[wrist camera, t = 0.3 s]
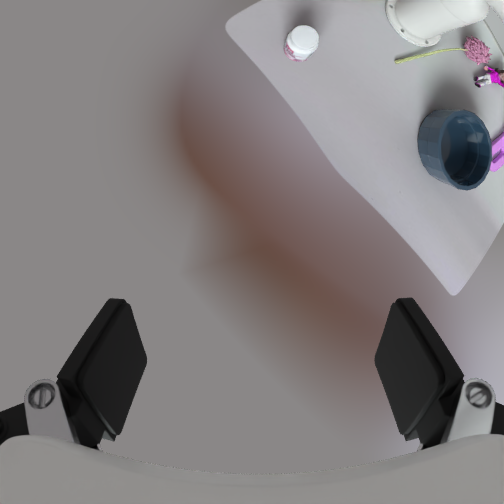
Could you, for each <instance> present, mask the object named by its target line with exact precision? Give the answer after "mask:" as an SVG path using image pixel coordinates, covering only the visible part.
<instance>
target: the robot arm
mask: <svg viewBox="0 0 504 504" xmlns="http://www.w3.org/2000/svg"><path fill="white" fill-rule="evenodd" d="M490 6H491V8H492V9H493V10H494V12H496V14H497V15H498V16H499V18H500V19H501V21H502V22H503V24H504V0H387V2H386V14H387V17H388V20H389V21H390V23H391V25H392V26H393V28H394V29H395V30H396V31H397V32H398V33H399V34H400V35H401V36H402V37H403V38H404V39H406V40H407V41H409V42H410V43H412V44H415V45H418V46H422V47H429V46H432V45H435V44H437V43H438V42H439V40H440V38H441V35H442V34H443V33H445V32H448V31H451V30H454V29H457V28H461V27H464V26H467V25H470V24H474V23H477V22H480V21H482V20H483V19H485V17H486V16H487V14H488V12H489V9H490ZM146 364H147V356H146V353H145V351H144V347H143V344H142V341H141V338H140V335H139V332H138V329H137V326H136V322H135V319H134V316H133V313H132V309H131V306H130V304H128V303H127V302H126V301H125V300H124V299H113V298H110V299H109V300H108V301H107V302H106V303H105V305H104V306H103V308H102V309H101V310H100V312H99V313H98V315H97V316H96V317H95V319H94V320H93V322H92V323H91V325H90V326H89V328H88V329H87V330H86V332H85V333H84V335H83V336H82V338H81V339H80V341H79V342H78V344H77V345H76V347H75V348H74V350H73V351H72V353H71V355H70V356H69V358H68V359H67V361H66V362H65V364H64V366H63V367H62V369H61V371H60V372H59V374H58V375H57V378H58V380H57V382H56V383H55V382H54V381H52V380H49V379H42V380H38V381H36V382H34V383H33V384H32V385H30V386H29V388H28V389H27V390H26V393H25V396H24V397H25V398H24V403H22V404H19V405H17V406H14V407H12V408H9V409H6V410H4V411H2V412H0V504H504V405H502V404H499V403H497V402H495V400H496V399H495V393H494V390H493V388H492V387H491V385H489V384H488V383H487V382H486V381H484V380H482V379H478V378H474V379H469V380H467V381H466V382H464V380H463V377H464V374H463V373H462V371H461V369H460V368H459V366H458V364H457V363H456V361H455V360H454V358H453V356H452V355H451V353H450V352H449V350H448V349H447V347H446V345H445V344H444V342H443V341H442V339H441V338H440V336H439V335H438V333H437V332H436V330H435V329H434V327H433V326H432V324H431V323H430V321H429V320H428V318H427V317H426V316H425V314H424V313H423V311H422V310H421V308H420V307H419V306H418V304H417V303H416V302H415V300H414V299H413V298H399V299H397V300H396V302H395V303H393V304H392V305H391V308H390V312H389V315H388V318H387V322H386V325H385V328H384V332H383V334H382V337H381V340H380V343H379V346H378V349H377V352H376V355H375V366H376V368H377V370H378V373H379V376H380V379H381V381H382V384H383V387H384V389H385V392H386V395H387V398H388V400H389V403H390V406H391V409H392V412H393V415H394V418H395V421H396V424H397V427H398V429H399V432H400V434H402V435H404V437H405V440H406V441H408V440H412V439H415V438H419V440H420V445H419V447H418V450H417V452H414V453H410V454H406V455H402V456H399V457H395V458H391V459H387V460H383V461H378V462H373V463H368V464H363V465H358V466H352V467H346V468H339V469H332V470H325V471H314V472H303V473H289V474H231V473H216V472H205V471H196V470H188V469H180V468H174V467H167V466H162V465H156V464H151V463H146V462H142V461H137V460H133V459H129V458H125V457H121V456H117V455H113V454H109V453H105V452H103V450H102V448H101V445H100V441H101V439H102V438H104V439H108V440H111V441H115V438H116V435H119V434H120V433H121V431H122V429H123V426H124V423H125V420H126V418H127V415H128V412H129V409H130V407H131V404H132V401H133V398H134V396H135V393H136V390H137V388H138V385H139V383H140V380H141V377H142V375H143V372H144V370H145V367H146Z"/></svg>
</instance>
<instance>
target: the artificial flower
mask: <svg viewBox="0 0 504 504" xmlns="http://www.w3.org/2000/svg"><path fill="white" fill-rule="evenodd" d="M471 36H472V35H471ZM466 37H467V36H466ZM467 38H468V39H469V40H468V39H467ZM467 38H466V39H467V42H465V45H464V44H463V45H464V47H465V49H460V48H454V49H443V50H437V51H433V52H430V53H425V54H420V55H416V56H411V57H407V58H403V59H399V60H395V63H396V64H398V63H401V62H405V61H409V60H412V59H416V58H420V57H424V56H428V55H432V54H435V53H439V52H444V51H451V50H463V51H465V54H466V55H467V57H468V58H469V59H471V60H472V61H475V62H478V63H477V66H478V64H480V63H489V62H487V61H486V60H491V59H490V58H489V57H490V55H492V54H488V52H489V49H490V48H487V47H486V46H485V44H484V43H483V42H482V41H480V40H479V39H477V38H476V37H475V38H474V37H472V38H473V40H472V39H471V38H469V37H467Z"/></svg>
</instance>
